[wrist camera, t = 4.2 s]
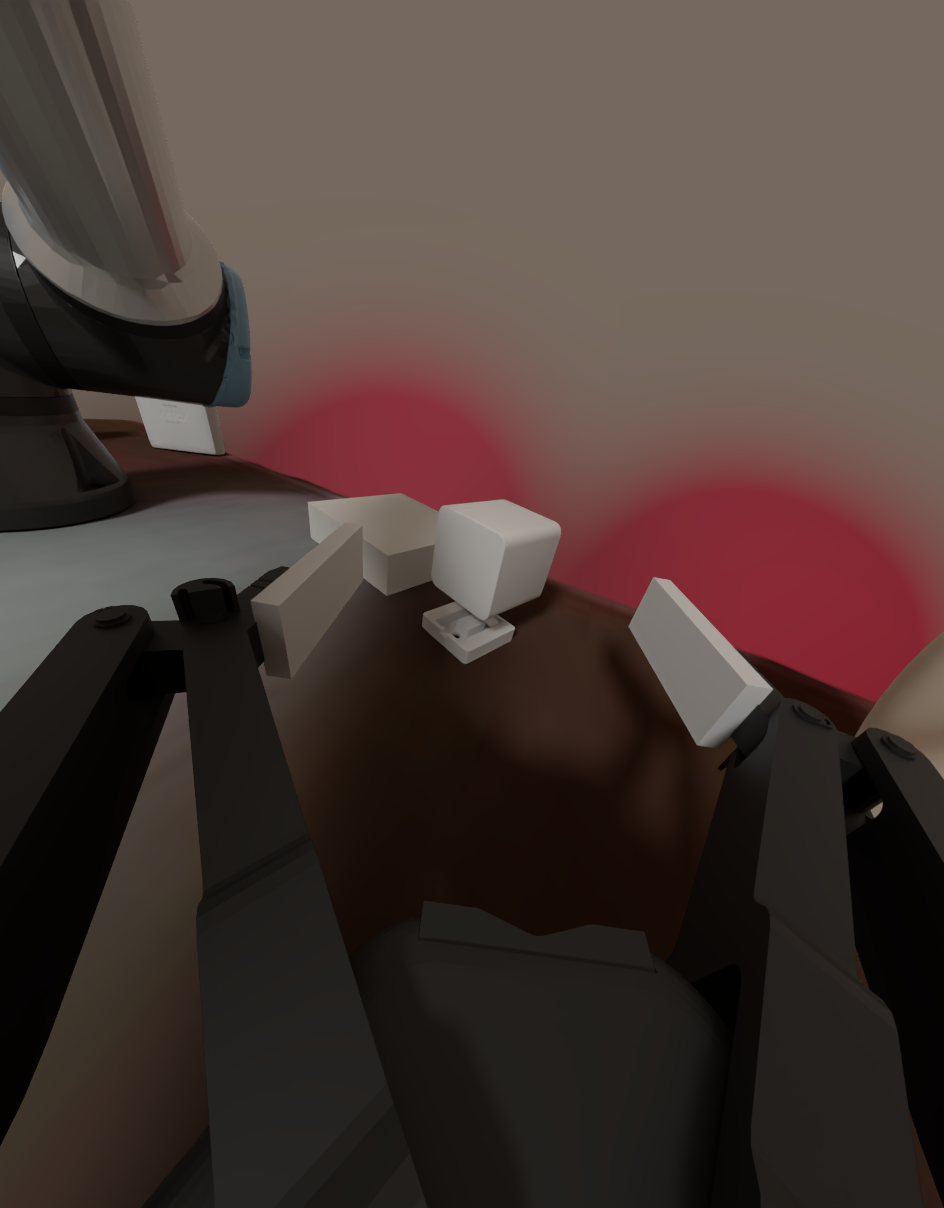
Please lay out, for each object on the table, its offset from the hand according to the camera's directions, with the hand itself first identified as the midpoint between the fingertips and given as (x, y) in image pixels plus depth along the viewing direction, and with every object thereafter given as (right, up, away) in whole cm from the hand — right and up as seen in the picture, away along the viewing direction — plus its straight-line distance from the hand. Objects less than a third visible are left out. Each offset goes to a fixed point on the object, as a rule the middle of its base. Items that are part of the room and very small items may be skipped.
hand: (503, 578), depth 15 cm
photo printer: (-49, +24, +41) cm, 69 cm away
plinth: (-10, +5, +22) cm, 25 cm away
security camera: (-1, -4, +13) cm, 14 cm away
